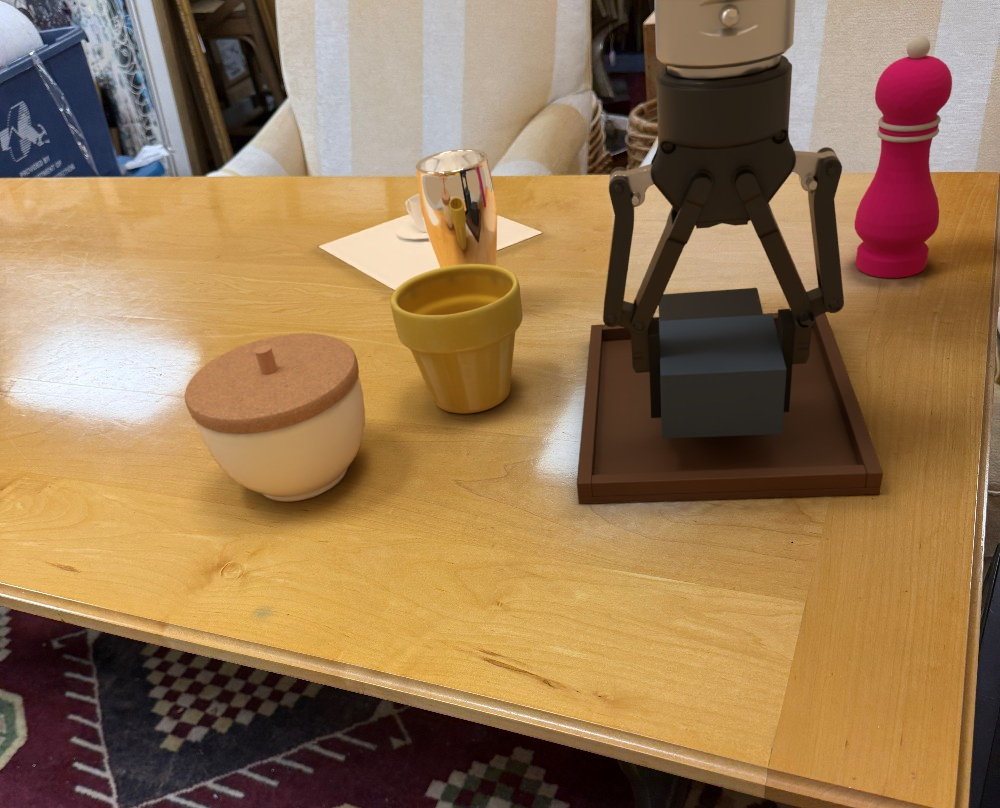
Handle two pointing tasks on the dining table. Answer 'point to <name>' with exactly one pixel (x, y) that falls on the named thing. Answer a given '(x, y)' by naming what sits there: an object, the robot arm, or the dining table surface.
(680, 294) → the pad
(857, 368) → the dining table surface
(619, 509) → the dining table surface
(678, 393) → the pad
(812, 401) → the brown square tray
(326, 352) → the lidded bowl
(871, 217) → the pepper mill
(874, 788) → the dining table surface
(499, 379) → the flower pot
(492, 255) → the shiny metal vase
